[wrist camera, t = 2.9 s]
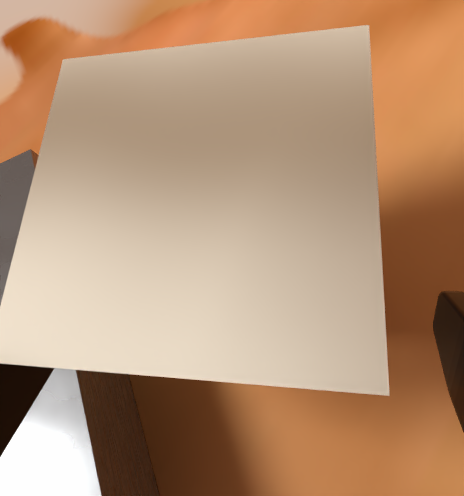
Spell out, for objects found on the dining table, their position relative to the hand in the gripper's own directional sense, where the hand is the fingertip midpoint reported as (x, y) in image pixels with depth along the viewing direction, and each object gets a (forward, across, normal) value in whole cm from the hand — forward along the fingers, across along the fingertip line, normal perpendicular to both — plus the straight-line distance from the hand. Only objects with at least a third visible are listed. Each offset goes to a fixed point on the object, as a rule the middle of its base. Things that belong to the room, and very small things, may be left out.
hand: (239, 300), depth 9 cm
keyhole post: (+7, 0, +6) cm, 9 cm away
